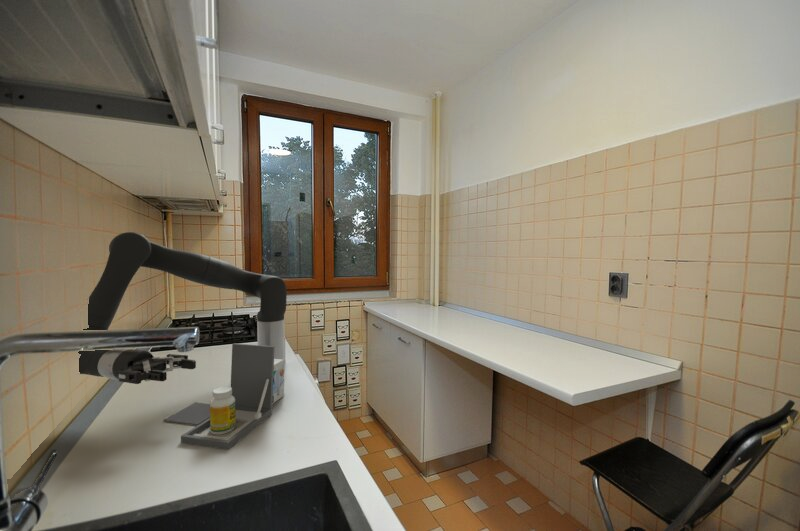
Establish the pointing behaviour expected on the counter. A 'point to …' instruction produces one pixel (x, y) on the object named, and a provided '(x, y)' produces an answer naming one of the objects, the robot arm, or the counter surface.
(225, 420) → the supplement bottle
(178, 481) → the counter surface
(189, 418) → the pad
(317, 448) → the counter surface
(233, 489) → the counter surface
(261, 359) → the case
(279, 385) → the light bulb box
